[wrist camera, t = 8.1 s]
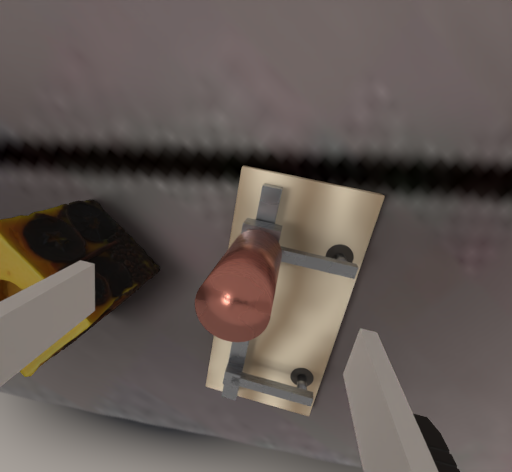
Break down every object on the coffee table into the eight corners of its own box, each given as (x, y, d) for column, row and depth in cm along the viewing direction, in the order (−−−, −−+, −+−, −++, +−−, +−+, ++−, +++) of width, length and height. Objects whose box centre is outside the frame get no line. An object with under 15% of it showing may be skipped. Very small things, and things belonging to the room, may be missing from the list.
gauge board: (208, 378, 33) (205, 387, 31) (244, 165, 24) (241, 166, 23) (308, 406, 31) (308, 416, 30) (380, 193, 23) (385, 196, 22)
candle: (163, 268, 29) (96, 324, 20) (108, 315, 32) (28, 383, 23) (93, 194, 28) (-13, 217, 18) (43, 251, 31) (-69, 295, 22)
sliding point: (236, 257, 26) (190, 334, 15) (245, 212, 24) (200, 262, 14) (343, 283, 25) (375, 384, 14) (358, 238, 23) (406, 312, 13)
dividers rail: (225, 385, 31) (218, 407, 28) (264, 183, 23) (260, 187, 21) (302, 407, 30) (302, 432, 27) (368, 205, 23) (377, 212, 20)
